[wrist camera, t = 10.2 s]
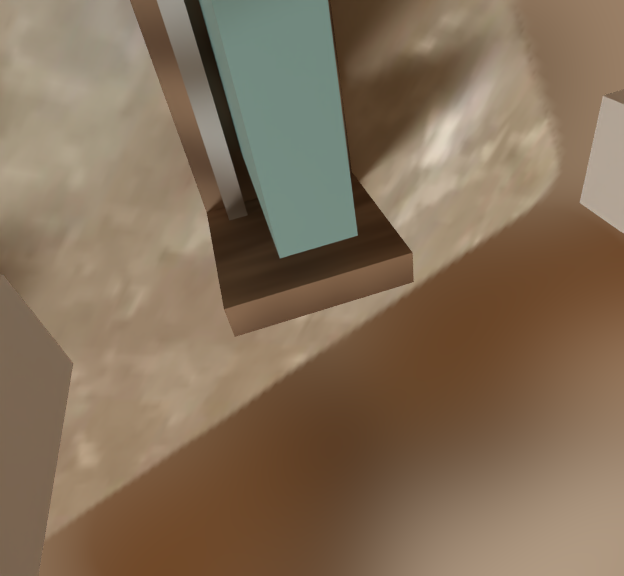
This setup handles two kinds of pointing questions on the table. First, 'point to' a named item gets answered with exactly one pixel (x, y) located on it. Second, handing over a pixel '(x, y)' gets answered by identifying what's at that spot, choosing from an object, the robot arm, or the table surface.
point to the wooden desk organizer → (243, 199)
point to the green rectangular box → (286, 115)
